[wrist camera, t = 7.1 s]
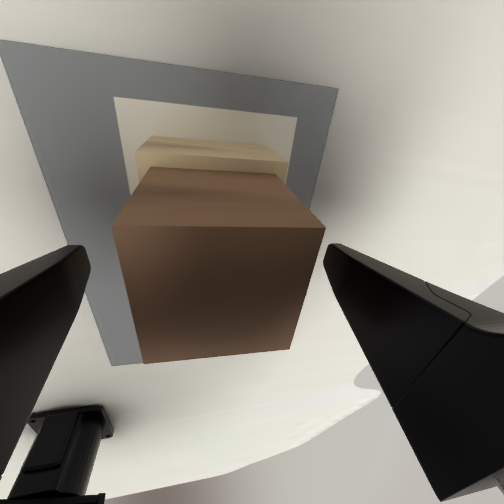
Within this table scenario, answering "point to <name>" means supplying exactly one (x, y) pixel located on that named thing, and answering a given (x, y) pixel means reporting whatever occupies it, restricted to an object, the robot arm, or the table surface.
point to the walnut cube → (214, 262)
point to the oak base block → (208, 156)
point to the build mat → (135, 134)
